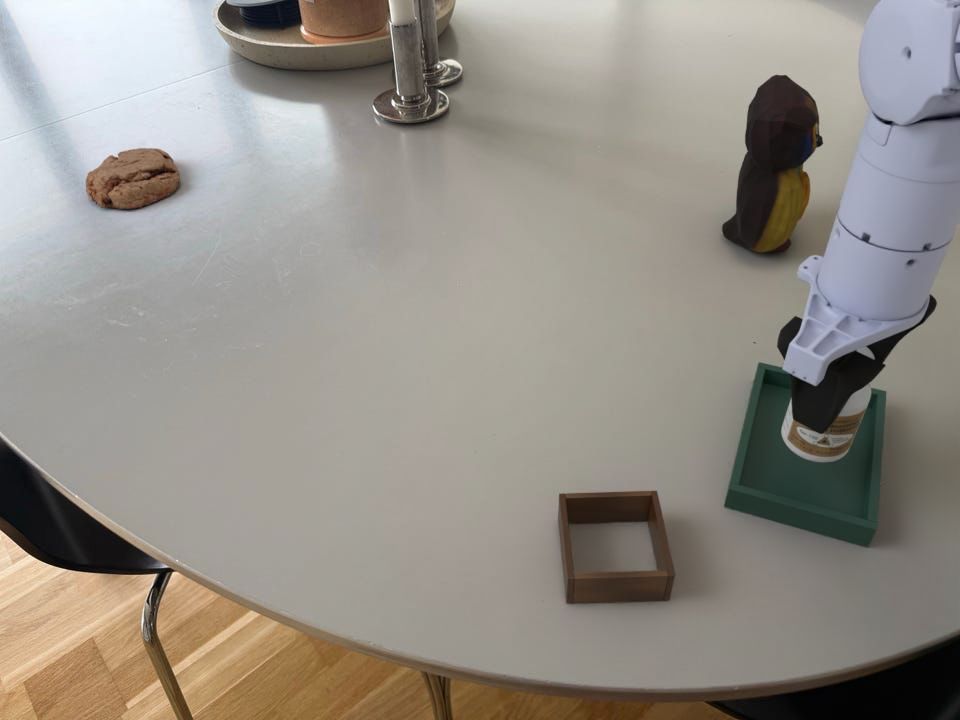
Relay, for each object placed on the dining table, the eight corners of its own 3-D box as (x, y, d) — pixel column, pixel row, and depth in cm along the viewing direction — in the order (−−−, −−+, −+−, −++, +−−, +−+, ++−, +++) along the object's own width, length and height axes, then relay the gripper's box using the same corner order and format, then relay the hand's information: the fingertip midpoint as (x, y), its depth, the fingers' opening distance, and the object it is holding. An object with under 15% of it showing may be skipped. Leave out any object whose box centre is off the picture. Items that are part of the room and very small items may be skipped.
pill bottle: (783, 461, 53) (812, 376, 48) (777, 413, 57) (803, 328, 51) (854, 468, 53) (891, 383, 47) (843, 419, 56) (877, 333, 51)
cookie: (184, 157, 95) (177, 133, 92) (180, 204, 87) (172, 179, 85) (95, 169, 93) (85, 145, 91) (83, 218, 85) (72, 193, 83)
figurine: (795, 276, 74) (838, 122, 64) (716, 266, 75) (746, 113, 65) (795, 218, 81) (835, 71, 71) (723, 210, 82) (751, 64, 72)
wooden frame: (652, 516, 55) (657, 490, 53) (669, 601, 50) (675, 575, 49) (557, 519, 55) (559, 493, 53) (566, 603, 51) (567, 578, 49)
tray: (868, 548, 53) (877, 529, 51) (723, 506, 55) (728, 488, 54) (878, 409, 62) (886, 390, 60) (753, 380, 64) (758, 361, 63)
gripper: (882, 146, 49) (825, 320, 58) (754, 252, 41) (712, 432, 51) (1006, 187, 45) (924, 366, 54) (890, 311, 38) (818, 494, 47)
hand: (829, 402), depth 52 cm, fingers closed on pill bottle, 4 cm apart
